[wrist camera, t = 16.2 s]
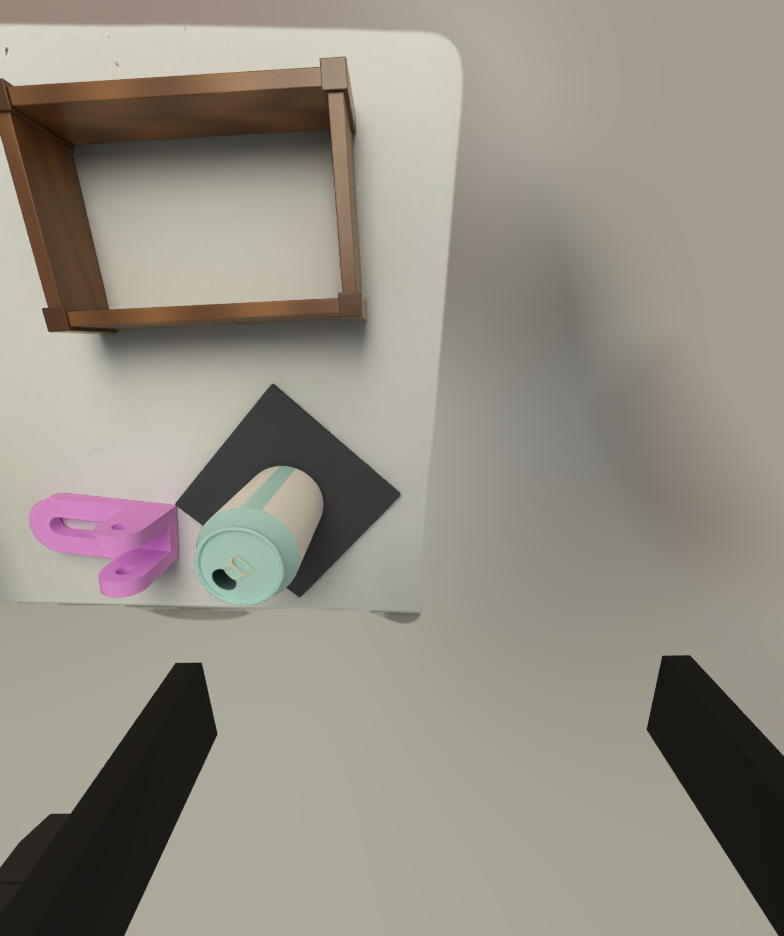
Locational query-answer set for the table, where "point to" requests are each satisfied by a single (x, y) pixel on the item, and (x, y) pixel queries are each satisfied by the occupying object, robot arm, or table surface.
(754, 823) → the robot arm
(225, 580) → the can
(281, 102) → the crate
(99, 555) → the bracket
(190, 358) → the table surface
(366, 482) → the mat
